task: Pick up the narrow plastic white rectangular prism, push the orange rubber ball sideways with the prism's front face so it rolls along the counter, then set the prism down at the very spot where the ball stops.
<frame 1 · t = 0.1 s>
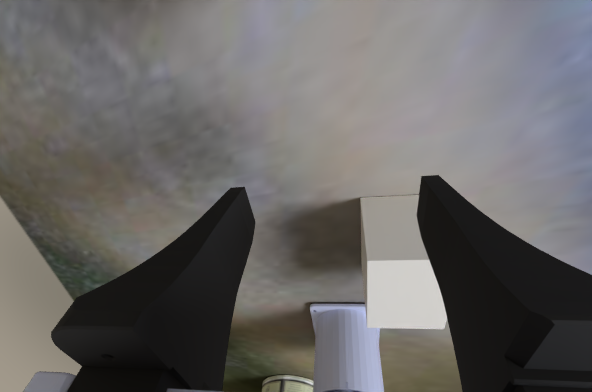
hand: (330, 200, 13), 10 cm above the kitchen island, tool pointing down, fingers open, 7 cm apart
white rectangular prism: (395, 233, 27), on the kitchen island
coffee can: (292, 385, 53), on the kitchen island
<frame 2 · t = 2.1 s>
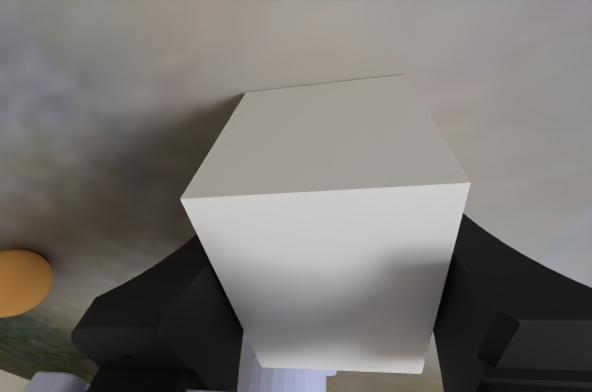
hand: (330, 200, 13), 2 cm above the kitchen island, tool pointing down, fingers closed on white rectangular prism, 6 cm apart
white rectangular prism: (330, 177, 14), on the kitchen island, touching gripper
ball: (11, 282, 19), on the kitchen island
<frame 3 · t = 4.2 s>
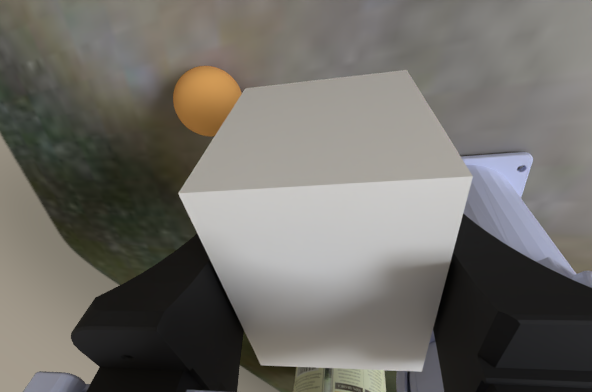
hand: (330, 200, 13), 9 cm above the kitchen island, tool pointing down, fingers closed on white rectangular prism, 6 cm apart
white rectangular prism: (330, 174, 14), point 7 cm above the kitchen island, touching gripper
coffee can: (340, 348, 37), on the kitchen island
ball: (209, 102, 18), on the kitchen island
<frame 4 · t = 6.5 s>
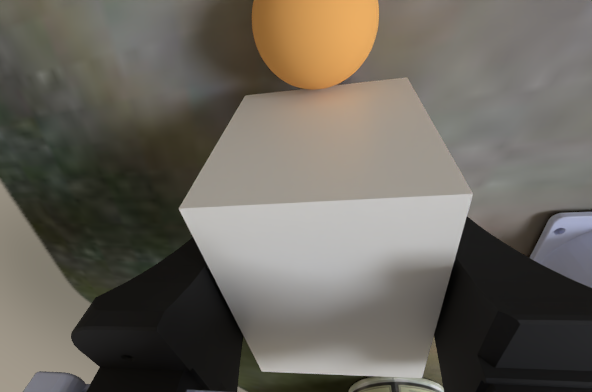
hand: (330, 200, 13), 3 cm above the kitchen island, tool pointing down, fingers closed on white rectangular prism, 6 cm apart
white rectangular prism: (331, 180, 14), point 2 cm above the kitchen island, touching gripper
coffee can: (396, 391, 33), on the kitchen island
ball: (314, 23, 10), on the kitchen island
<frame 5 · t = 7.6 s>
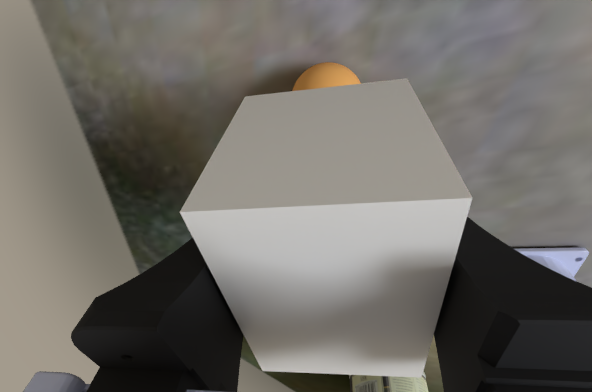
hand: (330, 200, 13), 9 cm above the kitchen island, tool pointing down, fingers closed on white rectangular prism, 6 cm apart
white rectangular prism: (331, 180, 14), point 7 cm above the kitchen island, touching gripper
coffee can: (386, 374, 42), on the kitchen island
ball: (326, 102, 17), on the kitchen island
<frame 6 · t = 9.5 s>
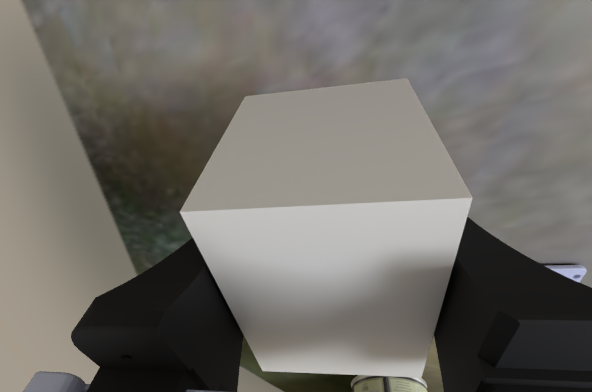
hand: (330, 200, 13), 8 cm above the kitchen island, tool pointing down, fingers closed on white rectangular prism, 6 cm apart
white rectangular prism: (331, 180, 14), point 6 cm above the kitchen island, touching gripper
coffee can: (388, 383, 42), on the kitchen island
when the fingers open (2 cm above the kitchen island, at t = 11.0 s): white rectangular prism stays where it is, on the kitchen island.
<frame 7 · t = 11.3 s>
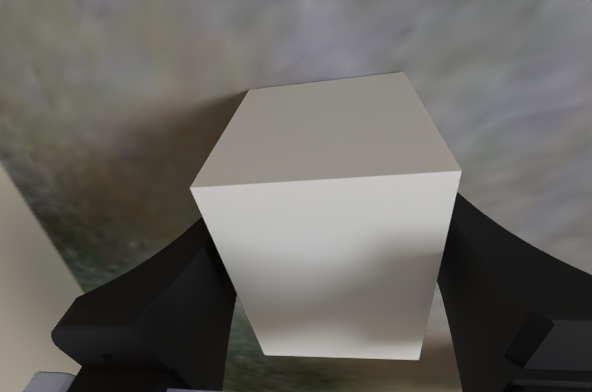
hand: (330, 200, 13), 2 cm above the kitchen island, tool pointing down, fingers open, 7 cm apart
white rectangular prism: (331, 172, 14), on the kitchen island
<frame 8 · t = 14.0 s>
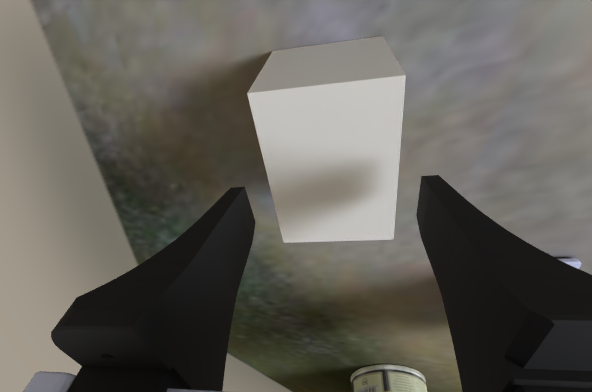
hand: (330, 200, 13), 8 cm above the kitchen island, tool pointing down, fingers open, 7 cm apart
white rectangular prism: (331, 117, 19), on the kitchen island
coffee can: (387, 377, 43), on the kitchen island
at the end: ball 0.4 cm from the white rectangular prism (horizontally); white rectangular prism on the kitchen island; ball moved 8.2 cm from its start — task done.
